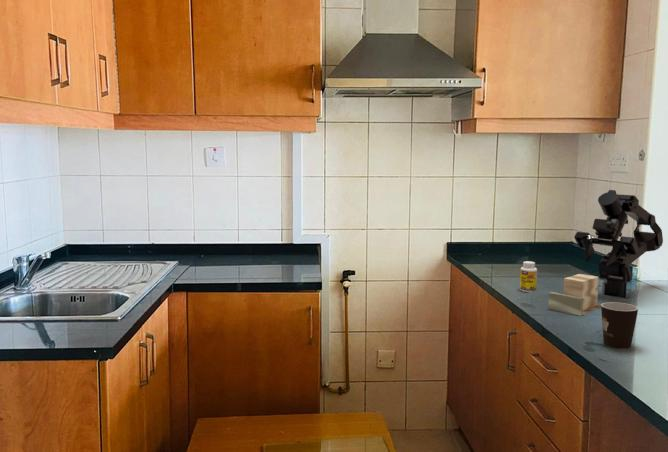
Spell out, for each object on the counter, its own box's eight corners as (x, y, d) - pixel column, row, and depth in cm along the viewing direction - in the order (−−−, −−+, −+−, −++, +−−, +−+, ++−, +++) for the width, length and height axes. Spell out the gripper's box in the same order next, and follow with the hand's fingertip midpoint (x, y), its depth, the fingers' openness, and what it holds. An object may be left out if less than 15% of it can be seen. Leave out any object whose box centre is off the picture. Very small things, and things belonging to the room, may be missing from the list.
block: (578, 301, 193) (579, 273, 191) (597, 305, 188) (598, 276, 187) (562, 307, 186) (564, 278, 185) (581, 311, 182) (583, 281, 180)
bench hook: (574, 304, 195) (575, 284, 194) (605, 310, 188) (606, 289, 187) (548, 313, 184) (548, 292, 183) (579, 320, 177) (581, 298, 176)
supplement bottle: (518, 291, 212) (519, 262, 211) (521, 288, 217) (522, 260, 216) (534, 293, 209) (535, 264, 208) (537, 290, 214) (539, 261, 213)
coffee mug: (637, 351, 150) (639, 312, 149) (599, 347, 154) (601, 309, 152) (633, 337, 161) (635, 301, 160) (597, 334, 164) (600, 298, 163)
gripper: (578, 207, 200) (559, 244, 194) (636, 211, 186) (619, 251, 180) (588, 228, 206) (570, 265, 201) (645, 234, 193) (628, 273, 187)
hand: (595, 263), depth 192 cm, fingers open, 6 cm apart
